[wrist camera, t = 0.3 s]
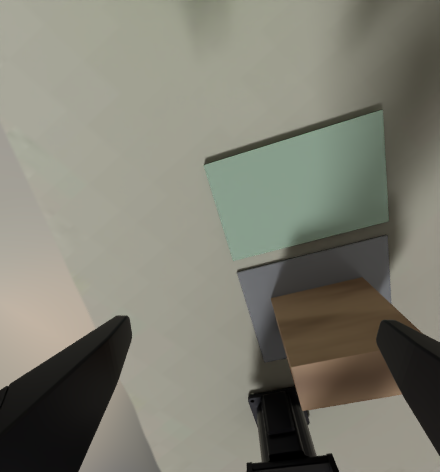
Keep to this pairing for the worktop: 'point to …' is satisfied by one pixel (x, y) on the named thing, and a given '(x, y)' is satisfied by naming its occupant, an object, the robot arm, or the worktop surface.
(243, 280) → the plate
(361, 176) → the green mat
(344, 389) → the walnut block
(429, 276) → the worktop surface
